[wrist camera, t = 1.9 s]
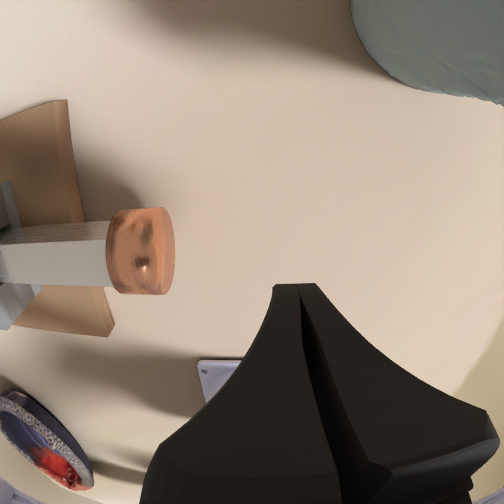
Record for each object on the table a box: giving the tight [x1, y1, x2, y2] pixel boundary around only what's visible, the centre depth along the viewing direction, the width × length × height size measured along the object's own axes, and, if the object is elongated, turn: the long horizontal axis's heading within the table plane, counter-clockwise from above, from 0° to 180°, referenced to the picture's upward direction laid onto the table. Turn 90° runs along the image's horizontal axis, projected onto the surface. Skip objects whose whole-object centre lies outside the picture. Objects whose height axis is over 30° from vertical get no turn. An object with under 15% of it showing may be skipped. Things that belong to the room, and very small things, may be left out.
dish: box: [0, 390, 94, 491], centre depth 32 cm, size 16×31×5 cm, turn 167°
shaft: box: [0, 207, 175, 295], centre depth 14 cm, size 4×16×4 cm, turn 92°
